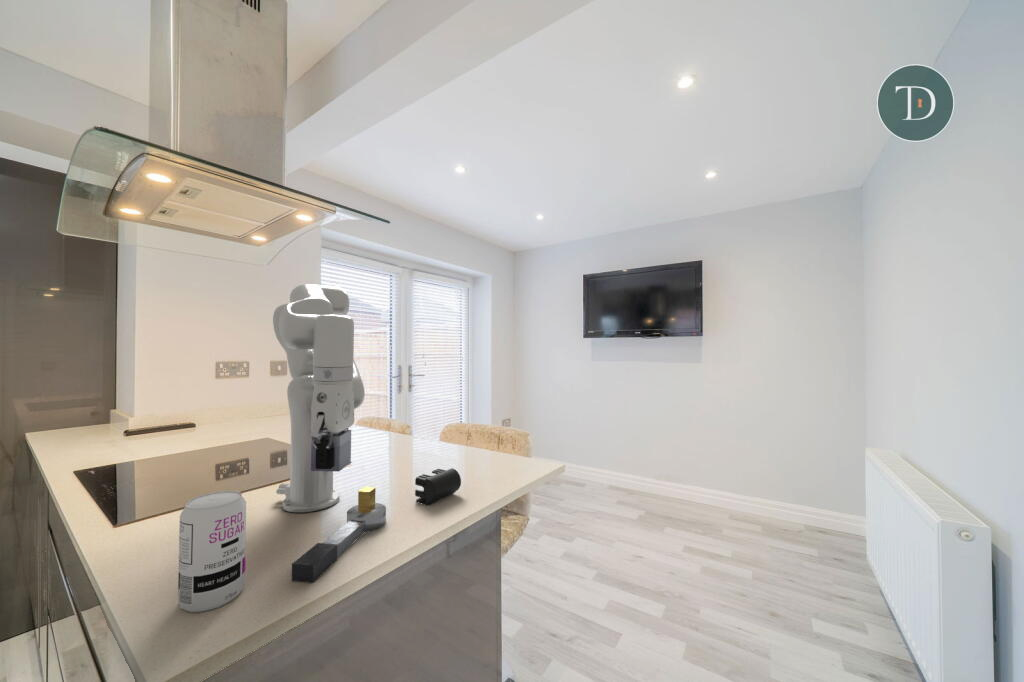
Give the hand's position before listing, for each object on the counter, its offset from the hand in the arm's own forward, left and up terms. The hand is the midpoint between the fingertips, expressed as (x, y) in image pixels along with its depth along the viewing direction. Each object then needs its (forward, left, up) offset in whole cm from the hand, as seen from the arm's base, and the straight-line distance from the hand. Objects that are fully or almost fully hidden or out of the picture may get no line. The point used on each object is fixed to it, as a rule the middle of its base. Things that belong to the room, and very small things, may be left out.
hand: (331, 462), depth 81 cm
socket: (0, 0, -1) cm, 1 cm away
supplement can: (-6, -21, -15) cm, 27 cm away
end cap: (+16, +22, -15) cm, 31 cm away
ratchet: (+5, -3, -15) cm, 16 cm away
